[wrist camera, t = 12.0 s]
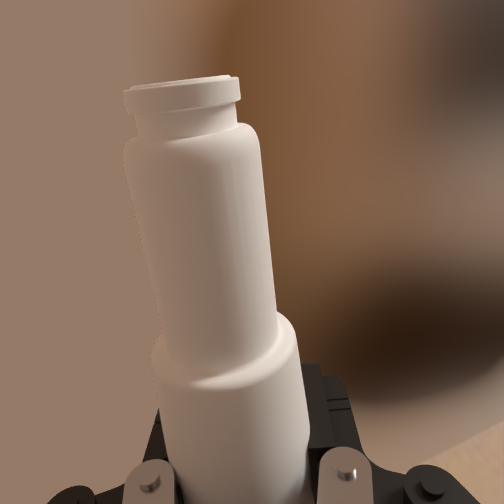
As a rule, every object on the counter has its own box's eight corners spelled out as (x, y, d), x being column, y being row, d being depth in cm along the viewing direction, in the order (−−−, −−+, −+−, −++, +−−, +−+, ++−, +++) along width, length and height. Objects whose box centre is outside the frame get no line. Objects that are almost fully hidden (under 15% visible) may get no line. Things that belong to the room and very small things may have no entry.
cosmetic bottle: (189, 793, 14) (-93, 112, 6) (214, 589, 20) (94, 91, 11) (372, 802, 13) (374, 55, 5) (345, 589, 19) (324, 63, 10)
